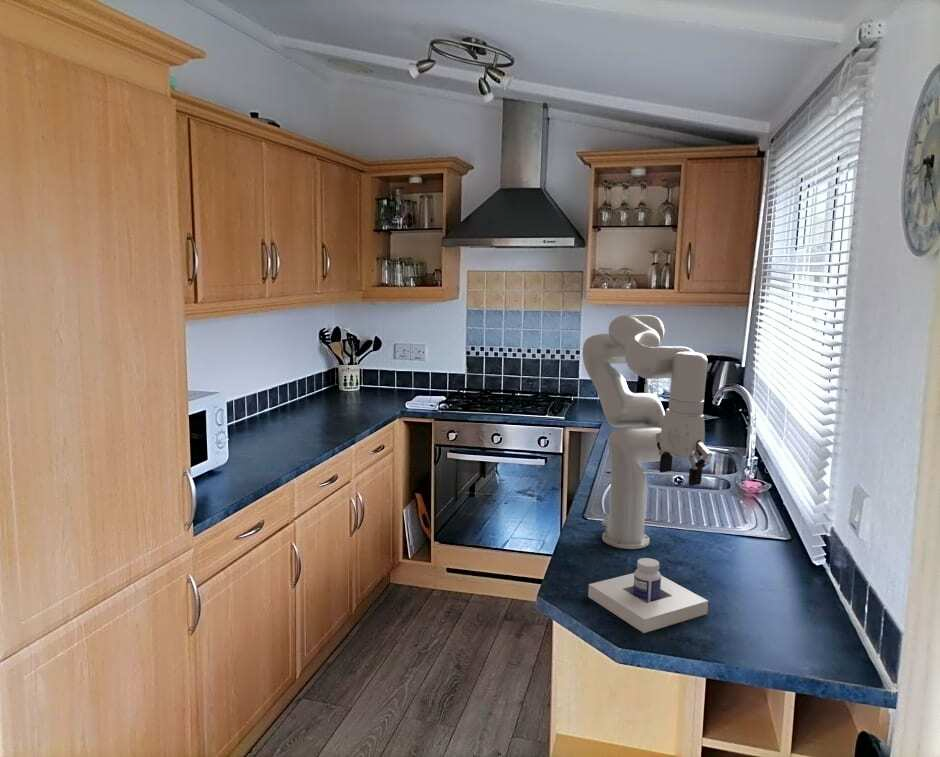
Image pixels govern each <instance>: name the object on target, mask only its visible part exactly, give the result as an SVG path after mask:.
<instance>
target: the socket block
mask: <svg viewBox="0 0 940 757" xmlns="http://www.w3.org/2000/svg"><path fill="white" fill-rule="evenodd" d="M634 573H635V572H633V573H629V574H625V575H620V576H617V577H613V578H609V579H604V580H600V581H596V582H593V583H589V584H588V593H587V594H588V596H587V597H588V598H589V599H591V600H592V601H594V602H596V603H597V604H598V605H600V606H602V607H603V608H605V609H606V610H608V611H609V612H611V613H612V614H614V615H616V616H617V617H618V618H620V619H622V620H623V621H625V622H626V623H628V624H629V625H630V626H632V627H633V628H635V629H637V630H638V631H640V632H641V633H643V634H645V633H649V632H653V631H655V630H659V629H662V628H667V627H668V626H672V625H676V624H678V623H682V622H685V621H689V620H692V619H696V618H699V617H702V616H705V615H708V608H709V607H708V606H709V600H708V599H705V598H704V597H702V596H700V595H698V594H697V593H694V592H693V591H691V590H689V589H687V588H685V587H684V586H682V585H679V584H678V583H676V582H674V581H673V580H671V579H669V578H667V577H665V576H663V575H661V586H660V600H656V601H652V602H649V603H645V602H643V601H642V600H640V599H638V598H637V597H635V596H633V591H634Z"/></svg>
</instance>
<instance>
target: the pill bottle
mask: <svg viewBox="0 0 940 757" xmlns="http://www.w3.org/2000/svg"><path fill="white" fill-rule="evenodd" d="M636 566H637V568H636V570H635V571H634V572H633V573H634V591H633V596H635V597H637V598H638V599H640V600H642V601H643V602H645V603H649V602H652V601H656V600H660V586H661V576H662V574H661V572H660V571H659V570H660V562H659V561H658V560H657V559H653V558H650V557H641V558H639V559H638V560H637V562H636Z"/></svg>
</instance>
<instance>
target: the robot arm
mask: <svg viewBox="0 0 940 757" xmlns="http://www.w3.org/2000/svg"><path fill="white" fill-rule="evenodd" d="M664 336H665V327H664V323H663V321H662V320H661V319H660V318H659V317H657V316H655V315H650V314H624V315H619V316H617V317H615V318H614V319H613V320H611V322H610V324H609V326H608V333H601V334H594V335H591V336H589V337H588V338H587V339H585V341H584V342H583V345H582V361H583V366H584V369H585V371H586V372H587V375H588V376H589V378H590V380H591V381H592V383H593V385H594V387H595V389H596V392H597V396H598V399H599V402H600V405H601V408H602V411H603V414H604V417H605V419H606V422H607V424H608V425H610V427H612V428H616V429H614V430H613V431H611V434H610V435H609V437H608V438H609V439H608V448H609V456H610V486H609V487H610V489H609V505H608V506H609V508H608V515H607V516H606V517H605V518H604V519H602V521H601V524H602V525H603V526H605V529H606V530H605V531H604V532H602V535H601V538H602V541H603V542H604V543H605V544H607V545H608V546H611V547H615V548H619V549H624V550H638V549H640V550H641V549H644V548H646V547H647V546H649V545H650V537H649V536H648V535H647V534H646V533H645V522H646V521H645V520H646V506H647V504H646V503H647V491H648V490H647V486H648V481H647V480H648V479H647V478H648V477H647V476H646V473H645V471H644V470H643V469H642V468H641V466H640V464H641V463H650V462H653V463H654V462H655V463H656V462H659V469H658V471H659V472H660V473H661V474H662V473H667V472H668V473H669V472H671V471H672V470H673V469H672V466H673V457H674V456H675V457H678V458H681V459H683V460H688V461H689V463H690V466H691V467H690V468H689V473H688V474H689V475H688V486H691V487H692V486H693V487H694V486H698V485H701V483H702V476H703V475H702V474H703V469H705V467H706V466H707V465H708V464H709V463H710V462H709V461H710V460H711V459H712V457H713V453H712V452H711V451H710V449H709V448H708V447H707V446H706V445H705V438H706V431H705V428H706V427H705V426H706V424H705V416H704V404H705V392H706V383H707V373H708V372H707V371H708V365H709V364H708V363H709V362H708V358H707V356H706V355H705V354H703V353H700V352H695V351H694V350H693V349H692V348H689V347H687V346H661V343H662V342H663V339H664ZM611 364H613V365H614V364H618V365H619V364H626V365H627V366H628V367H627V368H629V370H631V371H632V372H634V374H636V375H637V376H639V377H640V378H643V379H648V380H649V379H650V380H651V379H653V380H657V379H670V388H669V397H668V400H667V401H668V408H666V409H664V406H663V404H662V401H661V400H660V399H659V398H658V396H656V395H655V394H653V393H651V392H650V393H649V392H633V391H631V390H630V389H629V387H628V386H629V385H628V384H627V380H626V379H625V377H624V375H622V374H621V372H619V370H617V369H616V368H615V367H613V365H611ZM696 461H697V462H696Z"/></svg>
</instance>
